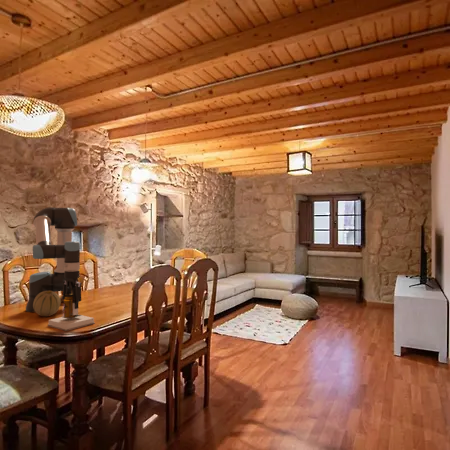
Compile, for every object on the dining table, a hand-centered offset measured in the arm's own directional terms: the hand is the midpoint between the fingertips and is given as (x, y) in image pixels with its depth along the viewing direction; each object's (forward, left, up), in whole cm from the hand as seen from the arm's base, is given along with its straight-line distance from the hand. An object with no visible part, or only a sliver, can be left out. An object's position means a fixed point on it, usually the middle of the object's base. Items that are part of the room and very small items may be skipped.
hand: (71, 313), depth 186 cm
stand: (0, 0, -6) cm, 6 cm away
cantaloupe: (-29, +3, -6) cm, 30 cm away
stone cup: (-58, +35, -6) cm, 68 cm away
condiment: (0, 0, -2) cm, 2 cm away
